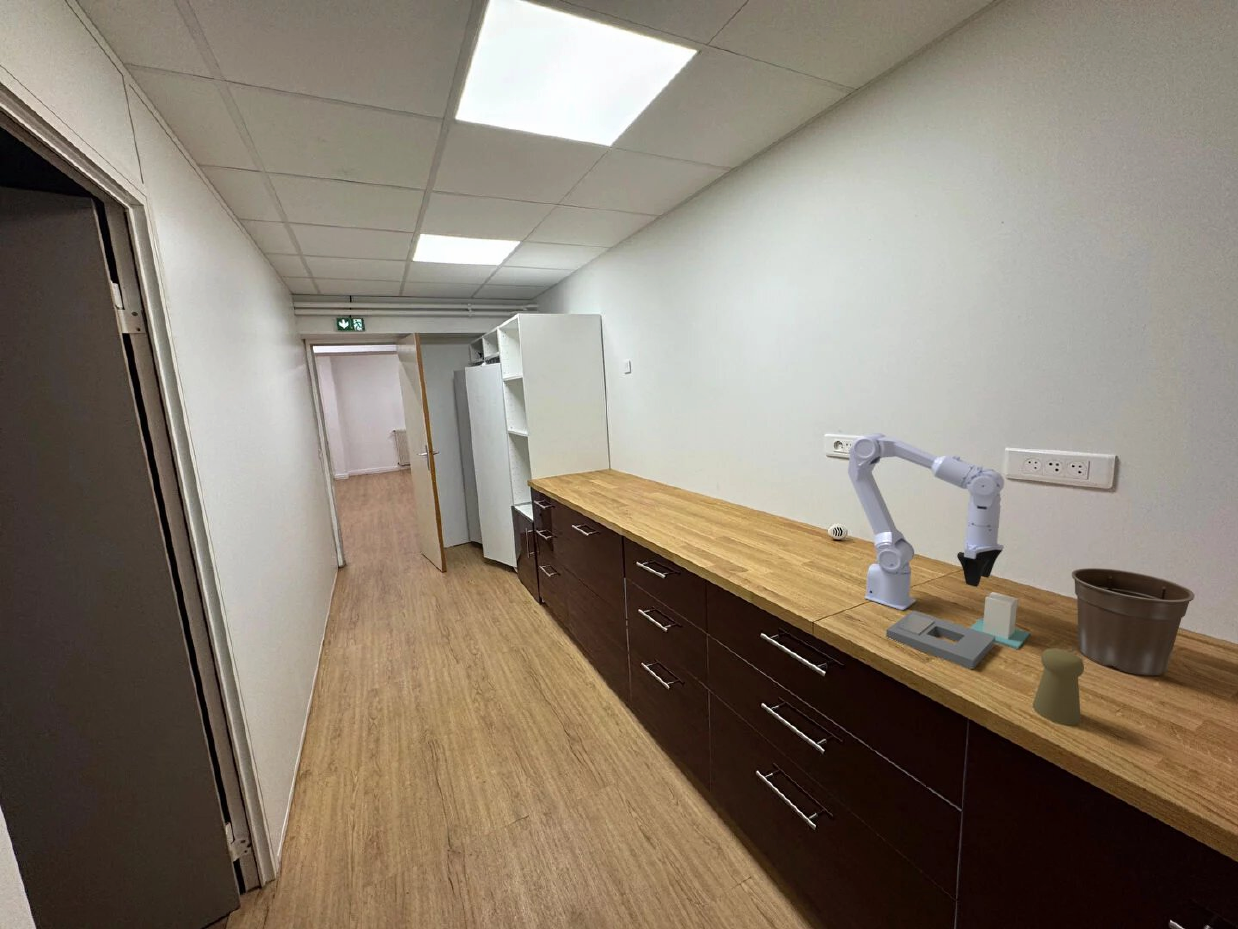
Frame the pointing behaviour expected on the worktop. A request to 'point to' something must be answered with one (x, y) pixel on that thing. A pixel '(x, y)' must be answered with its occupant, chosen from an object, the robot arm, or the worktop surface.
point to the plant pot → (1128, 618)
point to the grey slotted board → (920, 634)
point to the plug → (1000, 615)
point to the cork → (1059, 687)
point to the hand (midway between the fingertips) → (977, 580)
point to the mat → (1012, 641)
